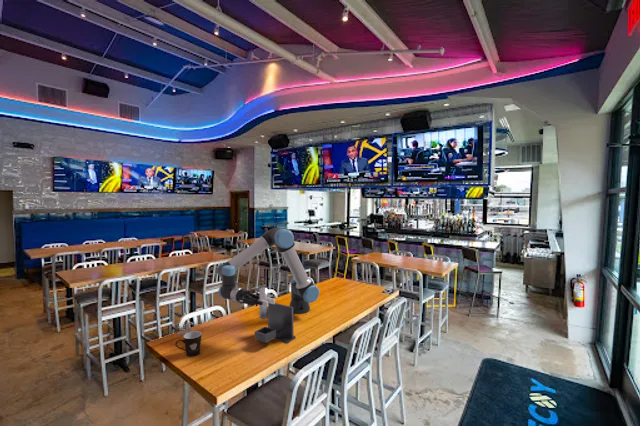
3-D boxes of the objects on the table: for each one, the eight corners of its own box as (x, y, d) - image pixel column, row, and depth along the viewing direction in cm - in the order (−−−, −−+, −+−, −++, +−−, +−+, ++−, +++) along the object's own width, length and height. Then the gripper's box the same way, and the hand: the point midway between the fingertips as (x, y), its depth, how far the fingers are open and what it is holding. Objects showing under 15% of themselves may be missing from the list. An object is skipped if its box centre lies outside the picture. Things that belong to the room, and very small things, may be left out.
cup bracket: (271, 331, 185) (271, 300, 184) (295, 338, 175) (295, 306, 174) (248, 343, 169) (247, 310, 168) (273, 352, 159) (272, 317, 158)
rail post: (263, 315, 169) (263, 286, 168) (269, 317, 167) (269, 287, 166) (257, 317, 165) (257, 288, 165) (263, 319, 163) (263, 289, 162)
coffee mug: (204, 349, 162) (204, 331, 162) (198, 358, 154) (198, 338, 153) (182, 350, 162) (181, 331, 162) (175, 358, 153) (174, 339, 153)
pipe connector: (176, 346, 166) (176, 328, 166) (179, 338, 176) (179, 321, 175) (196, 344, 169) (195, 326, 168) (198, 336, 178) (198, 319, 178)
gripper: (251, 297, 183) (281, 305, 170) (228, 306, 168) (259, 315, 156) (251, 285, 183) (281, 291, 170) (228, 292, 168) (259, 300, 155)
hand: (271, 302), depth 163 cm, fingers closed on rail post, 4 cm apart
